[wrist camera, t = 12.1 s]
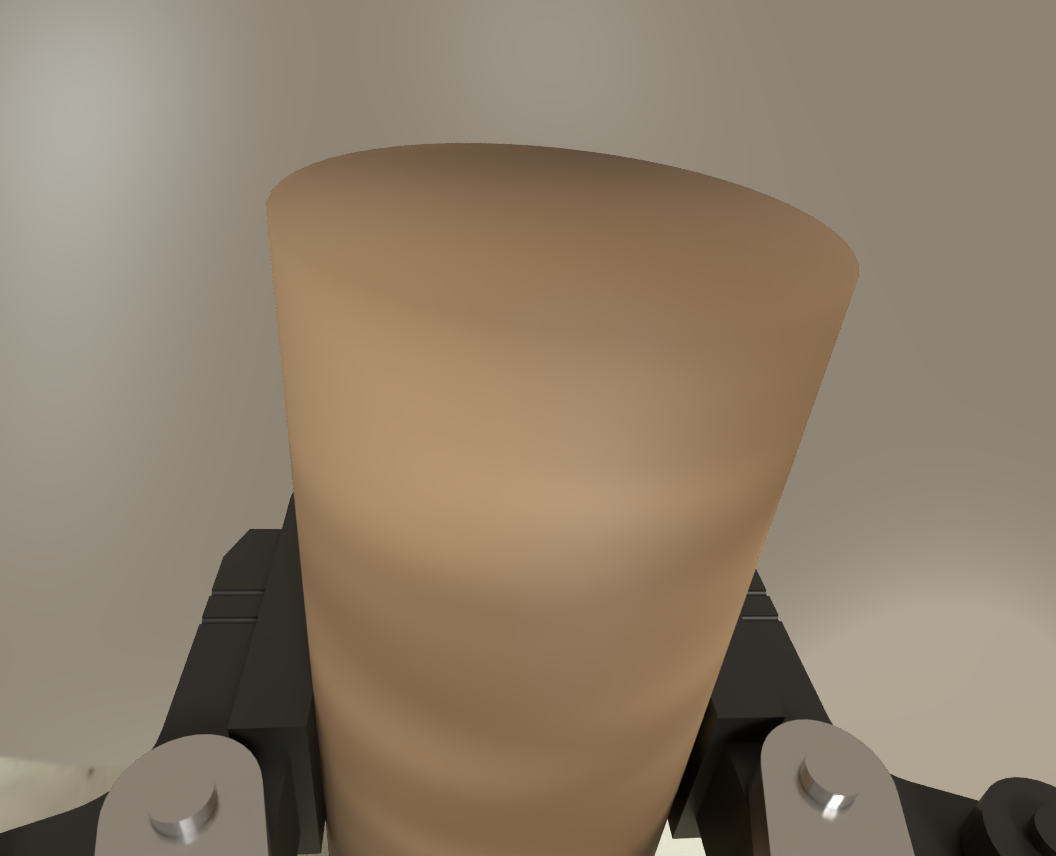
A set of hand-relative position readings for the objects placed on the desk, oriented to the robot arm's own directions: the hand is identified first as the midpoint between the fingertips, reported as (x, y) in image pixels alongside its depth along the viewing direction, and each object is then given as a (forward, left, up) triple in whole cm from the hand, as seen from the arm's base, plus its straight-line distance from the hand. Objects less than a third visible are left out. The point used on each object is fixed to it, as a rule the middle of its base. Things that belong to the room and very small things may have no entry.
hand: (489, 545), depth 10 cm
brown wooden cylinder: (0, -3, -8) cm, 9 cm away
